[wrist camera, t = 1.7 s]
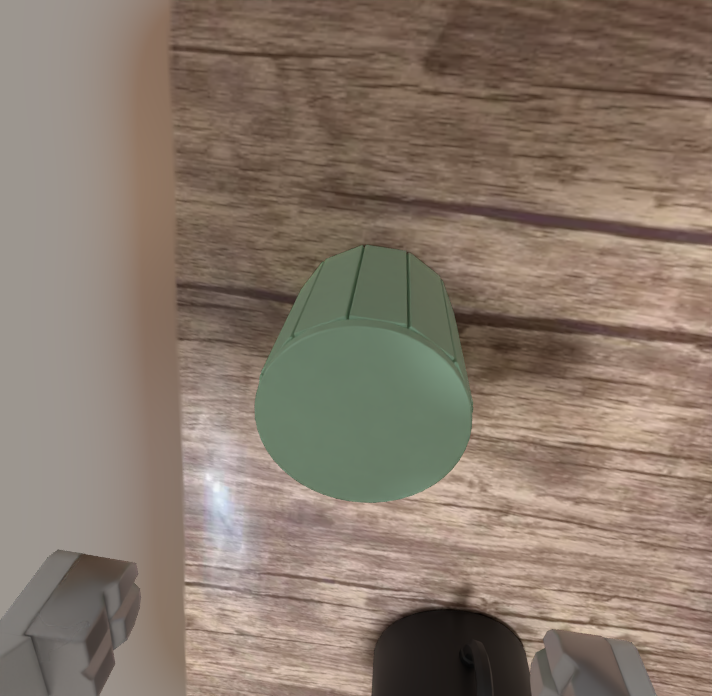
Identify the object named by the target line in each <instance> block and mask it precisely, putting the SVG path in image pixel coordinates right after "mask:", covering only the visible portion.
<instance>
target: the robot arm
mask: <svg viewBox="0 0 712 696" xmlns="http://www.w3.org/2000/svg"><path fill="white" fill-rule="evenodd" d="M137 575H138V570H137V565H136V563H133V562H127V561H121V560H115V559H110V558H104V557H98V556H92V555H86V554H82V553H76V552H70V551H63V550H57V551H55V552H54V553H53V554H52V555H50V556H49V557H48V558H47V559H46V561H45V562H44V563H43V564H42V566H41V567H40V568H39V570H38V571H37V572H36V574H35V575H34V577H33V578H32V579H31V580H30V582H29V583H28V584H27V586H26V587H25V588H24V590H23V591H22V592H21V594H20V595H19V596H18V598H17V599H16V600H15V602H14V603H13V604H12V605H11V607H10V608H9V609H8V611H7V612H6V613H5V615H4V616H3V617H2V619H1V620H0V696H99V695H100V693H101V691H102V689H103V687H104V685H105V683H106V681H107V679H108V677H109V675H110V673H111V671H112V669H113V667H114V665H115V660H114V653H113V650H114V649H116V648H117V647H118V646H120V645H121V644H122V643H124V642H125V641H126V640H127V639H128V637H129V635H130V633H131V631H132V629H133V627H134V624H135V621H136V618H137V615H138V611H139V609H140V600H141V594H140V588H139V587H138V586H137V585H136V584H135V583H134V581H135V579H136V577H137ZM543 641H544V645H545V648H544V649H542V650H540V651H538V652H536V654H535V656H534V658H533V661H532V663H531V671H530V686H531V694H532V696H657V695H656V692H655V690H654V688H653V685H652V683H651V681H650V678H649V676H648V674H647V671H646V669H645V667H644V664H643V662H642V660H641V657H640V655H639V652H638V650H637V648H636V647H635V646H634V645H633V644H632V642H629V641H626V640H620V639H613V638H605V637H602V636H598V635H591V634H583V633H576V632H569V631H562V630H555V629H551V630H549V631H547V633H546V635H545V637H544V638H543Z"/></svg>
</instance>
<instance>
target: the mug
mask: <svg viewBox="0 0 712 696" xmlns="http://www.w3.org/2000/svg"><path fill="white" fill-rule="evenodd" d="M372 696H532V694H531V686H530V672H529V667H528V662H527V658H526V653H525V650H524V648H523V646H522V644H521V643H520V641H519V640H518V639H517V637H516V636H515V635H514V634H513V633H512V632H511V631H510V630H509V629H507V628H506V627H505V626H503V625H501V624H500V623H498V622H496V621H494V620H492V619H490V618H487V617H484V616H481V615H478V614H474V613H469V612H464V611H454V610H437V611H428V612H422V613H417V614H414V615H411V616H408V617H405V618H403V619H401V620H399V621H396V622H395V623H393V624H392V625H391V626H389V627H388V628H387V629H386V630H385V631H384V632H383V633H382V635H381V636H380V638H379V640H378V642H377V644H376V646H375V649H374V659H373V678H372Z"/></svg>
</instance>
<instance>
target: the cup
mask: <svg viewBox="0 0 712 696" xmlns="http://www.w3.org/2000/svg"><path fill="white" fill-rule="evenodd" d="M472 412H473V400H472V396H471V391H470V386H469V382H468V377H467V372H466V367H465V363H464V358H463V353H462V348H461V344H460V339H459V334H458V329H457V325H456V320H455V315H454V311H453V309H452V306H451V303H450V300H449V297H448V294H447V292H446V289H445V286H444V283H443V280H442V279H441V280H440V276H439V275H438V274H436V273H435V272H434V271H433V270H431V269H430V268H429V267H428V266H426V265H425V264H424V263H422V262H421V261H420V260H419V259H417V258H416V257H415V256H414V255H412V254H411V253H408V254H407V255H406V251H404V250H398V249H391V248H385V247H378V246H371V245H366V246H365V249H364V247H363V245H361V246H358V247H356V248H353V249H351V250H348V251H345V252H343V253H340V254H338V255H335V256H332V257H330V258H327V259H326V260H325V262H324V261H323V262H322V263H321V264H320V265H319V267H318V268H317V269H316V271H315V272H314V273H313V274H312V276H311V277H310V278H309V280H308V281H307V282H306V284H305V285H304V286H303V287H302V289H301V291H300V293H299V295H298V297H297V299H296V301H295V303H294V305H293V307H292V309H291V311H290V313H289V315H288V317H287V319H286V321H285V324H284V326H283V328H282V330H281V332H280V334H279V336H278V338H277V340H276V342H275V344H274V346H273V348H272V350H271V352H270V355H269V357H268V359H267V361H266V363H265V365H264V367H263V369H262V371H261V374H260V379H259V386H258V389H257V393H256V398H255V420H256V425H257V429H258V432H259V435H260V438H261V440H262V442H263V444H264V446H265V448H266V450H267V451H268V453H269V454H270V456H271V457H272V458H273V460H274V461H275V462H276V463H277V464H278V465H279V466H280V468H281V469H282V470H284V471H285V472H286V473H287V474H288V475H289V476H291V477H292V478H293V479H295V480H296V481H298V482H299V483H301V484H302V485H304V486H306V487H308V488H310V489H312V490H314V491H316V492H319V493H321V494H323V495H326V496H330V497H333V498H336V499H341V500H346V501H352V502H364V503H376V502H387V501H393V500H398V499H402V498H405V497H409V496H412V495H414V494H417V493H419V492H422V491H424V490H425V489H427V488H429V487H431V486H433V485H434V484H436V483H437V482H438V481H440V480H441V479H442V478H444V477H445V476H446V475H447V474H448V473H449V472H450V471H451V470H452V469H453V468H454V466H455V465H456V464H457V463H458V461H459V460H460V458H461V456H462V455H463V453H464V451H465V449H466V446H467V444H468V441H469V438H470V434H471V429H472Z"/></svg>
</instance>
